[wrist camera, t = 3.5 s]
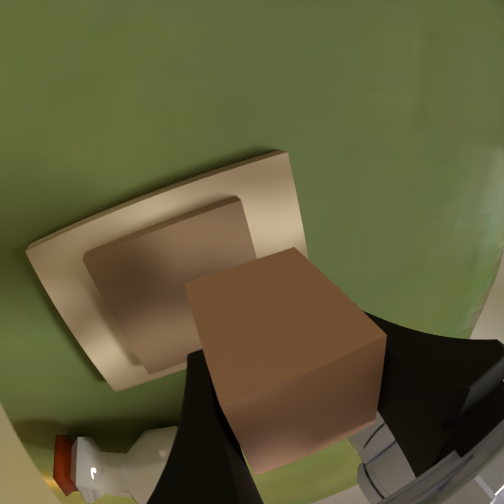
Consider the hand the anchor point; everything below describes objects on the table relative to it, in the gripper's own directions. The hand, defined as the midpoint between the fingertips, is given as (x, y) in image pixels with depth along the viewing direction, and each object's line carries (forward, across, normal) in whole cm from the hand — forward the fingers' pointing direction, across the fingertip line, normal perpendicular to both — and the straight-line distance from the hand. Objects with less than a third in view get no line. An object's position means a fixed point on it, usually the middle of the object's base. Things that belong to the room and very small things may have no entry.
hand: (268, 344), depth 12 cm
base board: (+9, +3, +1) cm, 10 cm away
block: (+2, 0, 0) cm, 2 cm away
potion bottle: (+10, +12, +16) cm, 22 cm away
